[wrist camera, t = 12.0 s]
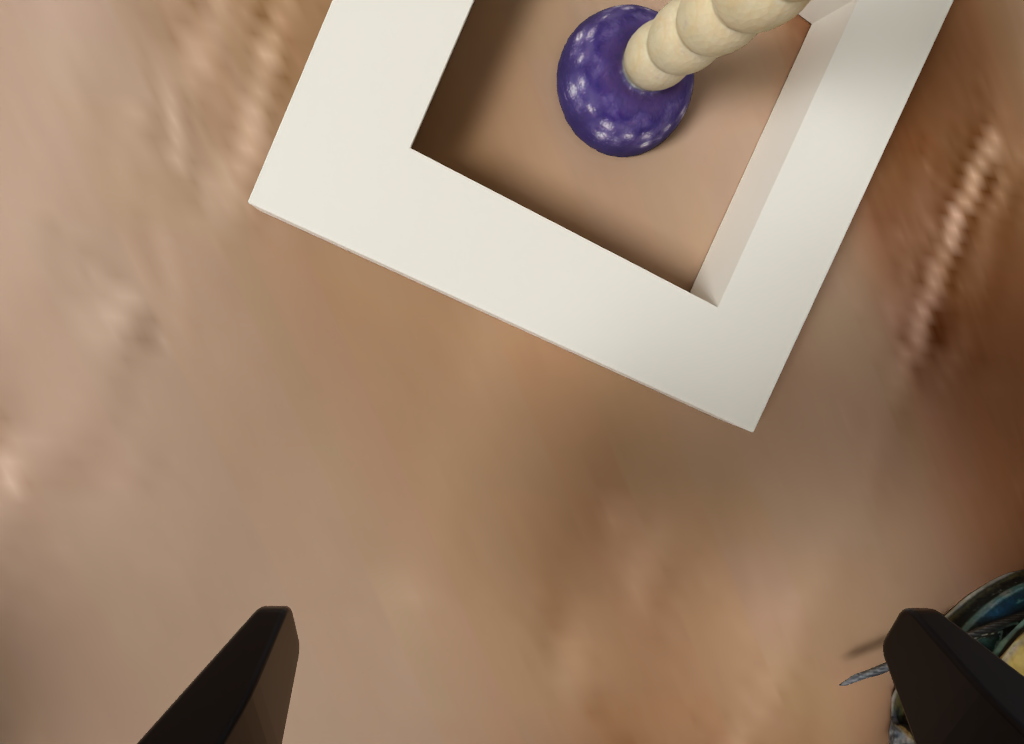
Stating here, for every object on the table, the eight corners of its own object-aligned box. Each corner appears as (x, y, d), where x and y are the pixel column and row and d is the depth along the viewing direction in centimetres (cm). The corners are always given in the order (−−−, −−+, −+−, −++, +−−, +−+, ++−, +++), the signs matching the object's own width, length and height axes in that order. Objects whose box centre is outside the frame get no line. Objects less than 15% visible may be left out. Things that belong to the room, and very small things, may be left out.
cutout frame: (717, 419, 21) (753, 432, 19) (261, 211, 17) (247, 202, 15) (916, -12, 21) (973, -42, 19) (494, -343, 16) (512, -426, 14)
